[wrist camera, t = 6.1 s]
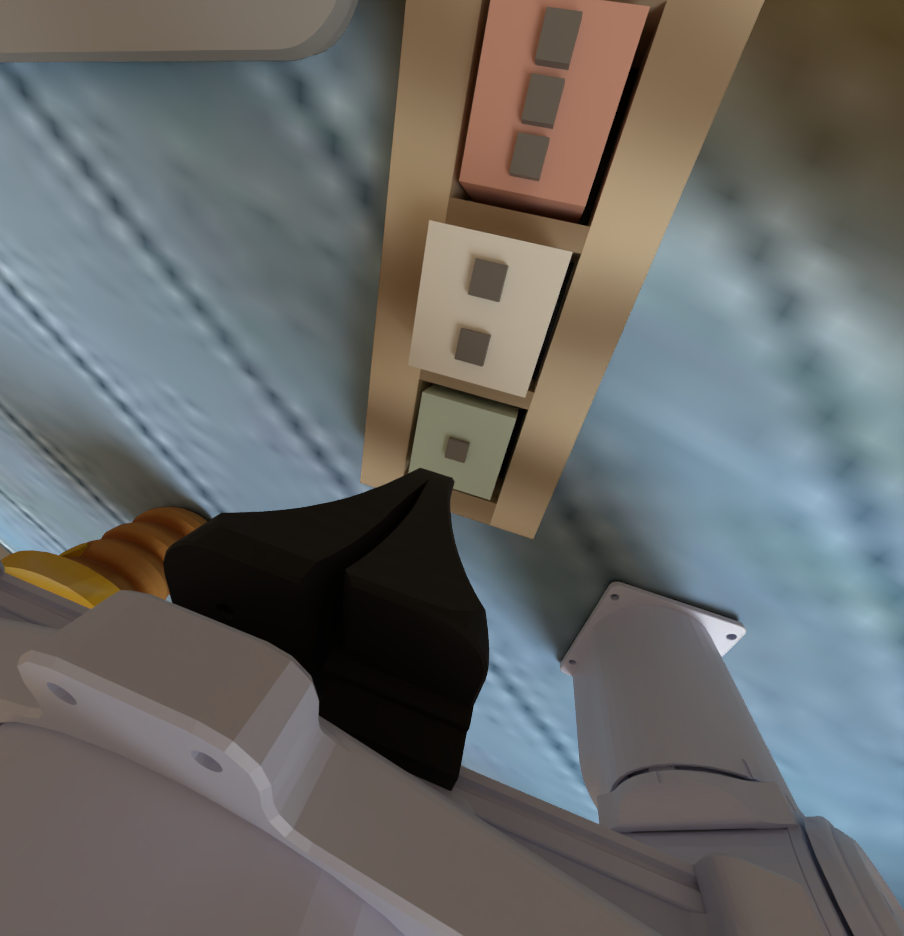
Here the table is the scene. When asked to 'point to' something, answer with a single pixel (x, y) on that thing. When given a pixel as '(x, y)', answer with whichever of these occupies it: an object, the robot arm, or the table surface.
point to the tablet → (169, 29)
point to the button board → (536, 230)
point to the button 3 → (547, 102)
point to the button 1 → (462, 438)
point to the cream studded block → (484, 306)
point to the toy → (109, 559)
